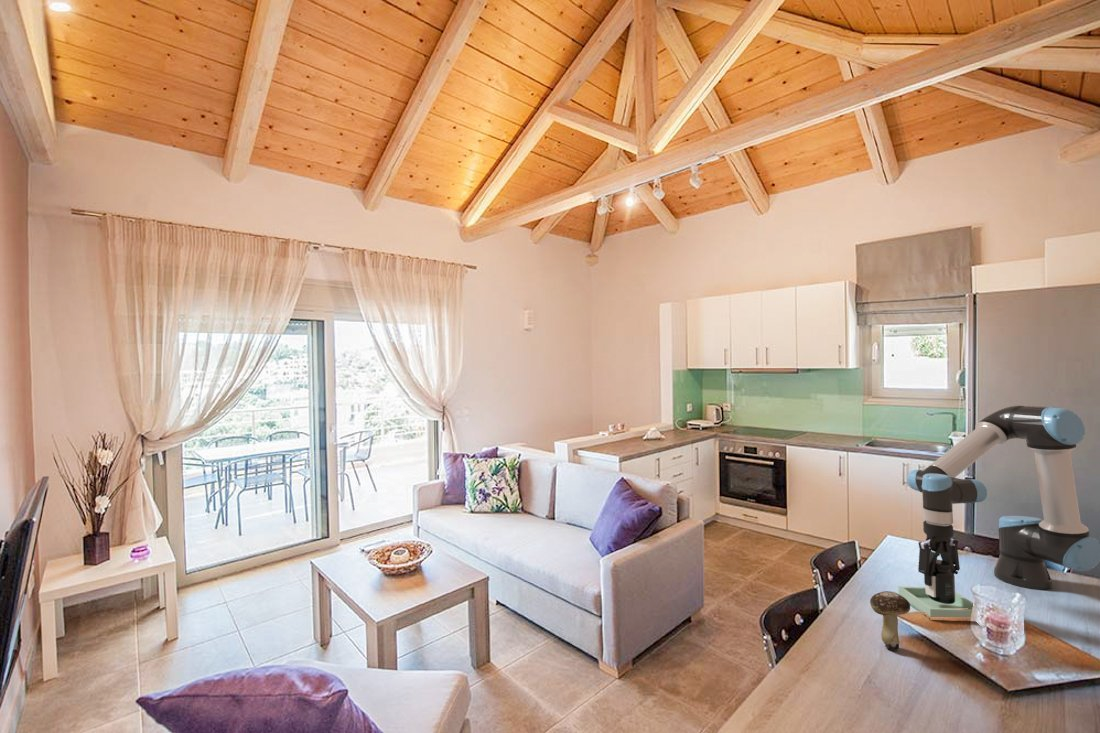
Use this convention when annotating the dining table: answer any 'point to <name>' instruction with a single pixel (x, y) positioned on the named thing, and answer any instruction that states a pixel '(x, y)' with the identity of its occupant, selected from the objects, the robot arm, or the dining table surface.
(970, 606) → the bin
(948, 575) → the supplement bottle
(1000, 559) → the robot arm
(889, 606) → the mushroom
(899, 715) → the dining table surface
